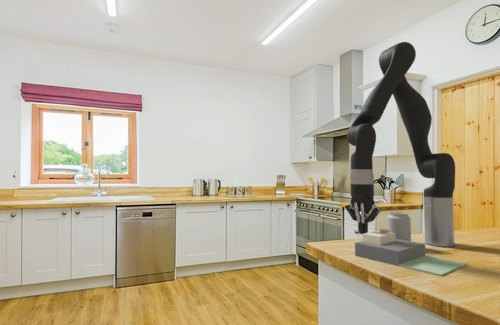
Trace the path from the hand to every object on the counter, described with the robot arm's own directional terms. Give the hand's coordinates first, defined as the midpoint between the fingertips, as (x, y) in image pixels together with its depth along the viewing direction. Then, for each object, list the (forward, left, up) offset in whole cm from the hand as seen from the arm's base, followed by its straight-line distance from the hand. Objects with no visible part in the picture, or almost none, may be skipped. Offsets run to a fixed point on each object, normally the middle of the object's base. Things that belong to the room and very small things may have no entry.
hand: (363, 233), depth 104 cm
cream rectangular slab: (0, +6, -2) cm, 6 cm away
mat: (0, +22, -6) cm, 23 cm away
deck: (0, +9, -6) cm, 11 cm away
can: (-15, +4, -6) cm, 17 cm away
